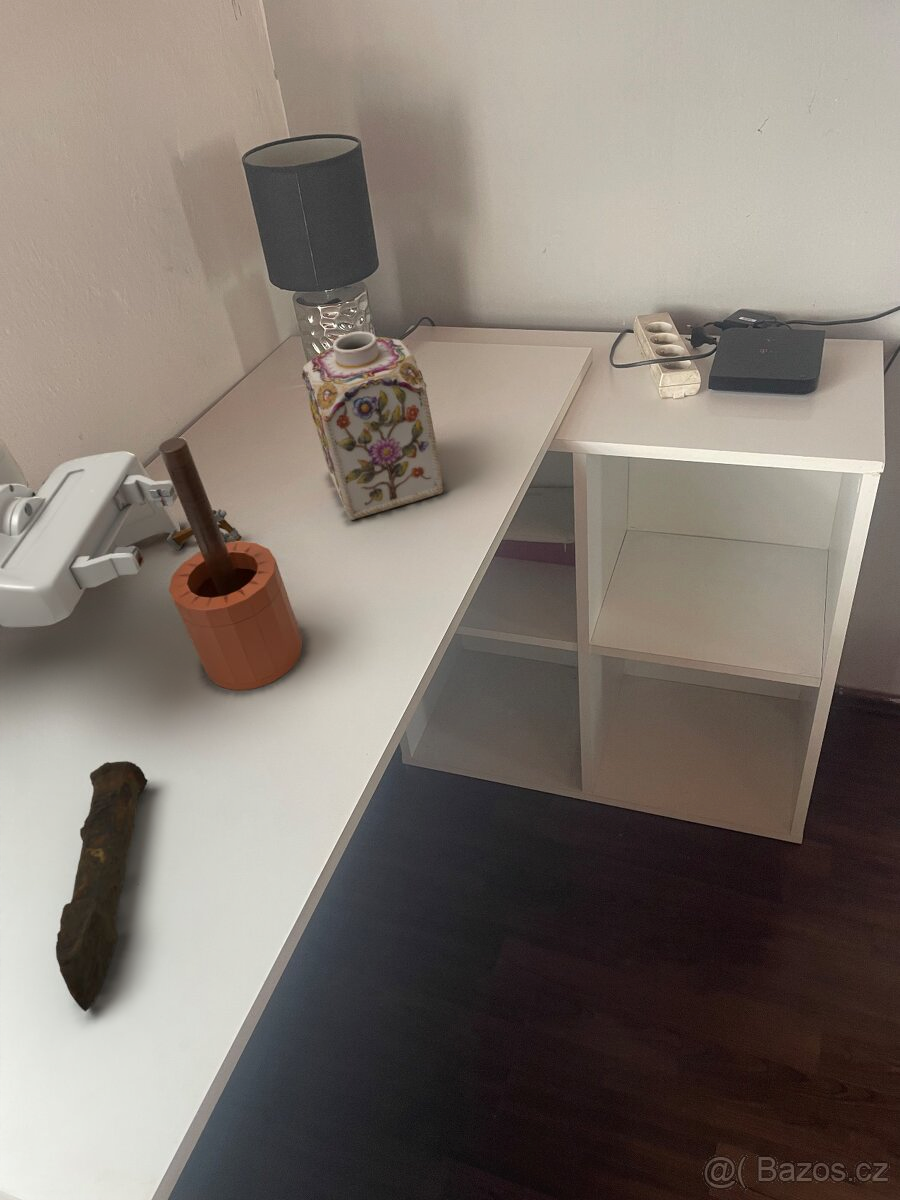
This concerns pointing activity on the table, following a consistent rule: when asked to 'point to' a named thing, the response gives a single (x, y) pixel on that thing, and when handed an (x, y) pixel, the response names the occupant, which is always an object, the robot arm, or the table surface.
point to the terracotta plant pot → (239, 619)
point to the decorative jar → (373, 423)
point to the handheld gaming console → (144, 522)
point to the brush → (200, 514)
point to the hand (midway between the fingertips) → (157, 524)
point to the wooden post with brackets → (181, 536)
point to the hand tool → (98, 881)
